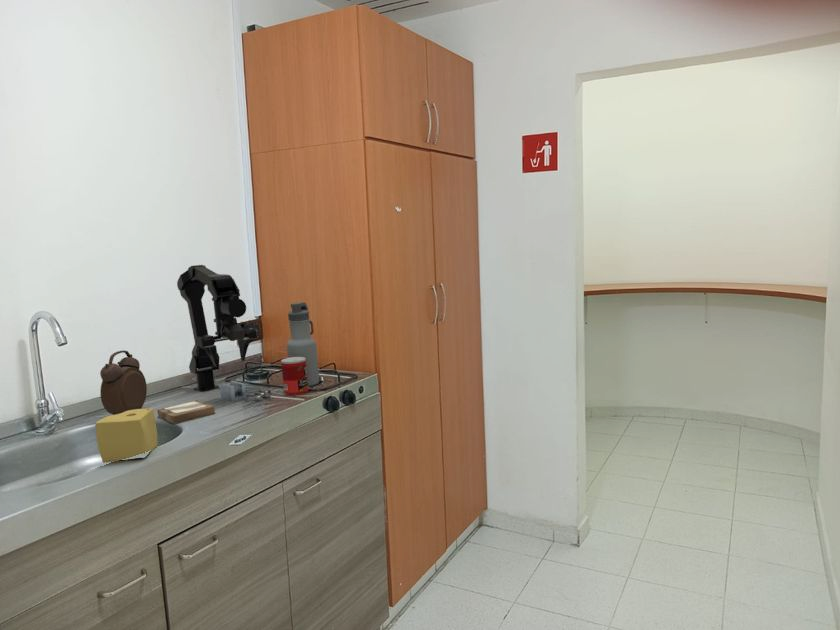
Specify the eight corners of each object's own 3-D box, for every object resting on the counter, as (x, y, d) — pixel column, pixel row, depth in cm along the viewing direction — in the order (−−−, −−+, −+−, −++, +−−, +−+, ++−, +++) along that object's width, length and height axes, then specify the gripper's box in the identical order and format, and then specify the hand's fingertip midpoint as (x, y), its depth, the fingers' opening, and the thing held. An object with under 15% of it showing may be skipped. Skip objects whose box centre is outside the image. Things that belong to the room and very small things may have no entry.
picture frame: (158, 417, 182) (157, 408, 182) (197, 407, 190) (196, 399, 190) (174, 424, 173) (173, 415, 173) (214, 413, 181) (213, 405, 181)
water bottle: (296, 381, 216) (289, 301, 213) (323, 380, 215) (316, 300, 211) (286, 388, 207) (278, 305, 203) (314, 387, 205) (306, 304, 201)
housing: (220, 398, 199) (218, 383, 199) (235, 395, 203) (233, 380, 202) (232, 402, 194) (230, 387, 193) (246, 398, 197) (245, 383, 196)
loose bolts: (244, 400, 195) (244, 393, 194) (261, 393, 202) (261, 387, 201) (259, 401, 192) (259, 394, 192) (276, 394, 199) (275, 387, 199)
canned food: (303, 395, 196) (300, 361, 194) (280, 395, 197) (276, 362, 196) (312, 389, 203) (309, 356, 202) (289, 389, 205) (286, 357, 203)
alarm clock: (130, 410, 192) (121, 347, 189) (151, 409, 191) (143, 346, 188) (99, 425, 178) (89, 357, 175) (122, 424, 177) (113, 356, 174)
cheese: (117, 449, 155) (111, 410, 154) (161, 445, 156) (156, 406, 154) (99, 464, 145) (93, 423, 143) (146, 459, 145) (141, 418, 144)
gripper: (207, 321, 182) (213, 372, 185) (263, 312, 195) (268, 360, 197) (191, 319, 191) (197, 368, 193) (246, 310, 203) (251, 357, 205)
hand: (229, 363), depth 197 cm, fingers open, 9 cm apart
